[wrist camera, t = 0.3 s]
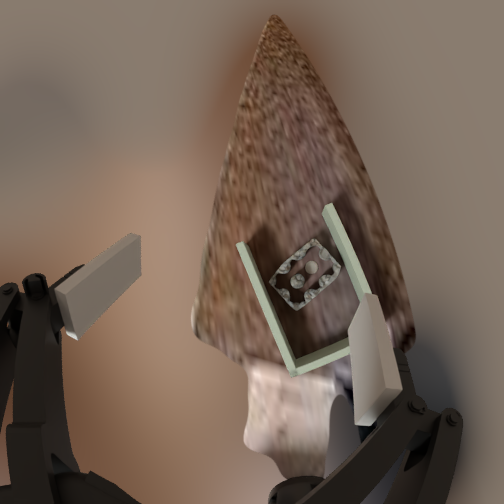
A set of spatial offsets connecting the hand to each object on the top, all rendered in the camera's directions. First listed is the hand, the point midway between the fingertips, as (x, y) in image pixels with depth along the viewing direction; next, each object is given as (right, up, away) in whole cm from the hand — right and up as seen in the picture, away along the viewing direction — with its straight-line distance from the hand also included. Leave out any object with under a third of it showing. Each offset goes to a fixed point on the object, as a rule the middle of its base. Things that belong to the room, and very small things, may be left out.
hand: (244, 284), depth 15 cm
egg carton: (+10, -2, +32) cm, 34 cm away
